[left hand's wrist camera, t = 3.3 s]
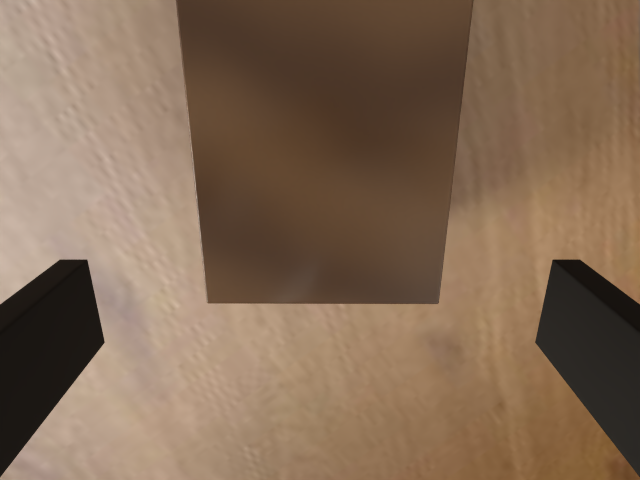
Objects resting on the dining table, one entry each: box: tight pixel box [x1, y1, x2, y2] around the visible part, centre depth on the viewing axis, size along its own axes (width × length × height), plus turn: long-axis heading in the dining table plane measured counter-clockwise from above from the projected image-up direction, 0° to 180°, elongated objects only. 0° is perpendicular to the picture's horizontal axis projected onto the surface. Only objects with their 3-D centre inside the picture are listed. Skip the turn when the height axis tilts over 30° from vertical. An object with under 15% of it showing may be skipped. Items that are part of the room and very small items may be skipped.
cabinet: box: [176, 0, 473, 304], centre depth 21 cm, size 21×11×10 cm, turn 0°
